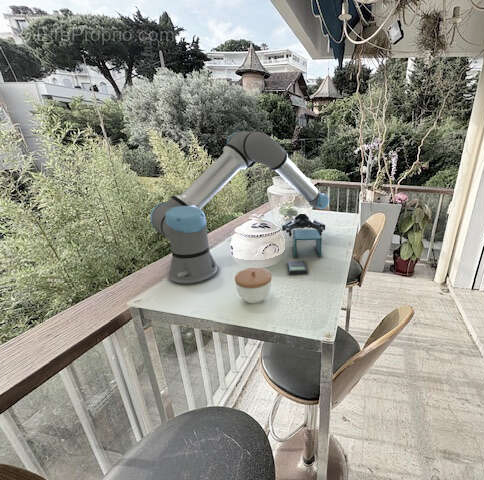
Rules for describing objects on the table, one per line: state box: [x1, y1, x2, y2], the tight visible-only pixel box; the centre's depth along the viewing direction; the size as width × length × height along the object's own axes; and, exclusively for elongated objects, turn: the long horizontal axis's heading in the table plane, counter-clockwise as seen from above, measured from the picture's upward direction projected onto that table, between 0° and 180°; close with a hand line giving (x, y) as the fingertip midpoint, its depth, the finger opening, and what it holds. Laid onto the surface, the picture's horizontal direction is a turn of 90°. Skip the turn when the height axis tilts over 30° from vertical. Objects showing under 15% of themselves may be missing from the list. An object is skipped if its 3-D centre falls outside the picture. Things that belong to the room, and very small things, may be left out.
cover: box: [292, 229, 323, 259], centre depth 115 cm, size 11×11×8 cm
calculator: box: [287, 260, 308, 275], centre depth 101 cm, size 8×6×2 cm
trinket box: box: [234, 267, 273, 304], centre depth 80 cm, size 11×11×9 cm
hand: (305, 233), depth 116 cm, fingers open, 13 cm apart
